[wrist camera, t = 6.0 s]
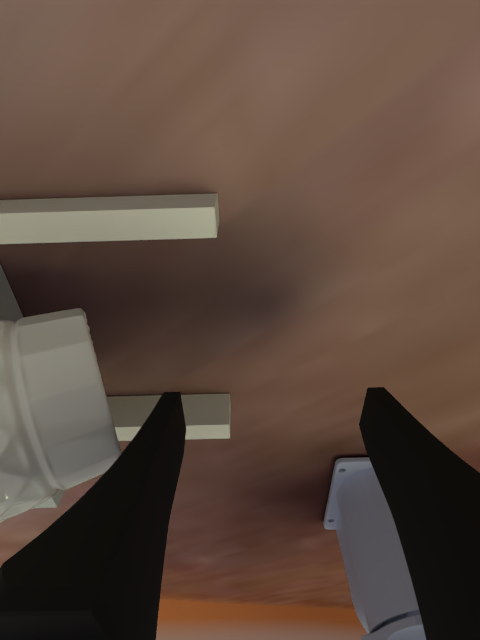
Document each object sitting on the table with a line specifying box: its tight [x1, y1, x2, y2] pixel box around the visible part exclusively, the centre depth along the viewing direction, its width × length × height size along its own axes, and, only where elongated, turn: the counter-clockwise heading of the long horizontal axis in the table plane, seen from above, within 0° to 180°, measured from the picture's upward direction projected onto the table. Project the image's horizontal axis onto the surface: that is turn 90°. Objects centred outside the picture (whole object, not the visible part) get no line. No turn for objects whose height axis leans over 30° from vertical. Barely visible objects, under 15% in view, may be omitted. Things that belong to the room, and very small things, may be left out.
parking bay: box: [0, 193, 231, 508], centre depth 17 cm, size 22×13×4 cm, turn 2°
